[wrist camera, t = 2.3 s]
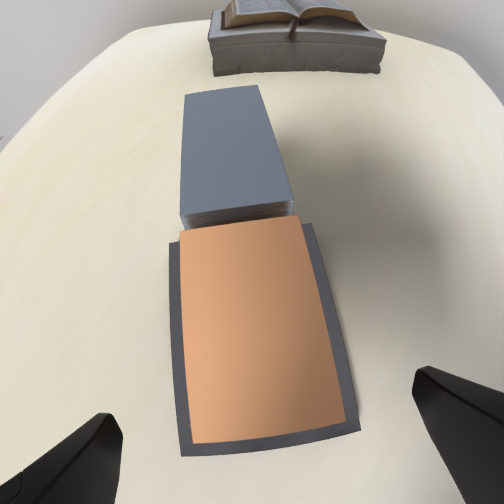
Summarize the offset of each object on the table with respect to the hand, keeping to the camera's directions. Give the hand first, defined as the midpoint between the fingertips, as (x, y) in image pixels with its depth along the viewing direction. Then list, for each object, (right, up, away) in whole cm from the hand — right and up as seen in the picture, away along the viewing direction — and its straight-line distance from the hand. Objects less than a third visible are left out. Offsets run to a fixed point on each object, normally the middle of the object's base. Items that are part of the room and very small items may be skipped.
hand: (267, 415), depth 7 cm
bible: (+6, +37, +34) cm, 50 cm away
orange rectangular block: (0, -1, +5) cm, 5 cm away
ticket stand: (0, -1, +11) cm, 11 cm away
